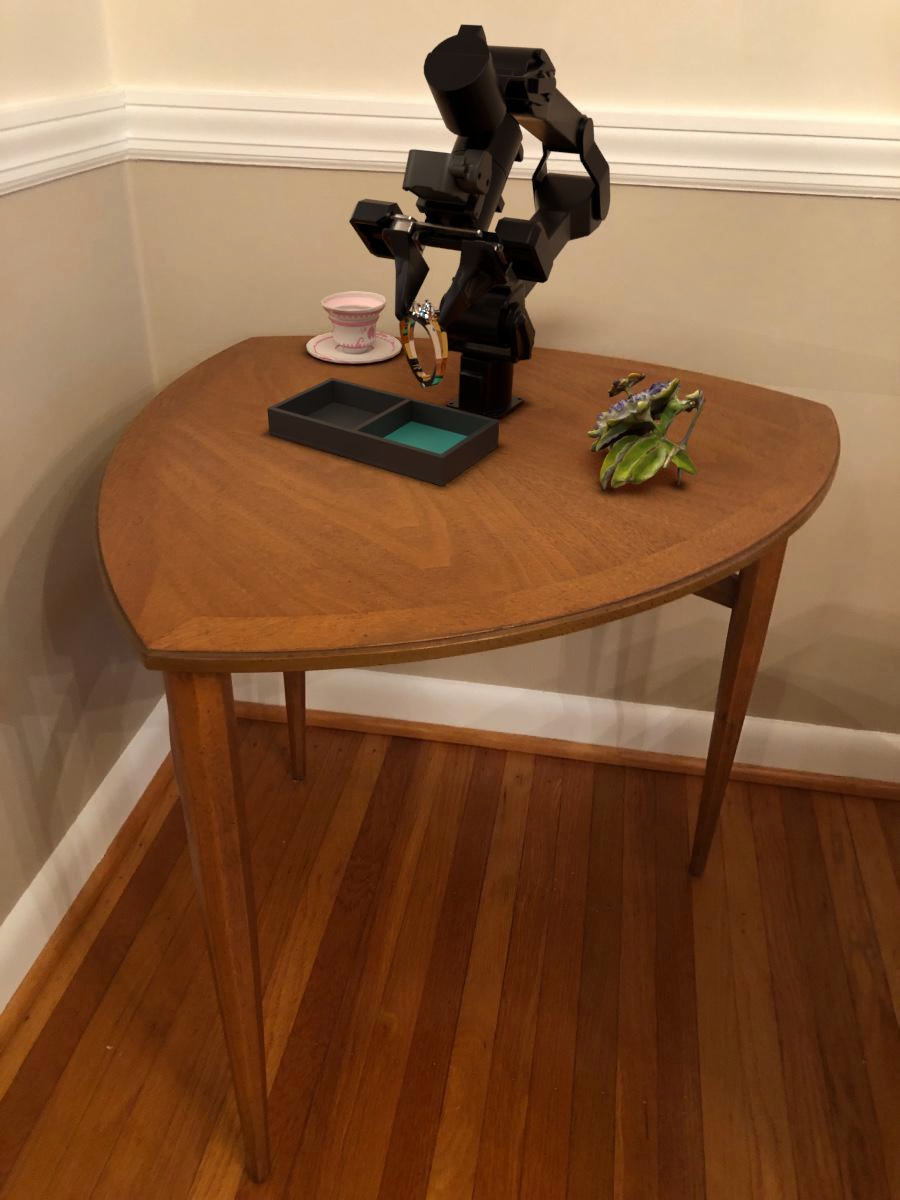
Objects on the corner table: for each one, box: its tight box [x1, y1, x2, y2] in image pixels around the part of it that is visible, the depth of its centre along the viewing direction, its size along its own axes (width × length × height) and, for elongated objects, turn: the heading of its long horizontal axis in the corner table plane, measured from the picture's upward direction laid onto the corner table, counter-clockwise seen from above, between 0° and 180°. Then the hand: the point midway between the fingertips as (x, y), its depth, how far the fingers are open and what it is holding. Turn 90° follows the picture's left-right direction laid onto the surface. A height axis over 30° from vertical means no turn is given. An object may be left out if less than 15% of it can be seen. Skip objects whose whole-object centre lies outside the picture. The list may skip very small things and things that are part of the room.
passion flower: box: [587, 372, 707, 491], centre depth 88 cm, size 11×11×12 cm
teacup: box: [305, 290, 403, 365], centre depth 117 cm, size 12×12×6 cm
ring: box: [398, 299, 449, 389], centre depth 88 cm, size 7×3×8 cm, turn 26°
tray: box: [266, 377, 500, 487], centre depth 95 cm, size 11×21×3 cm, turn 59°
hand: (419, 322), depth 85 cm, fingers closed on ring, 4 cm apart
